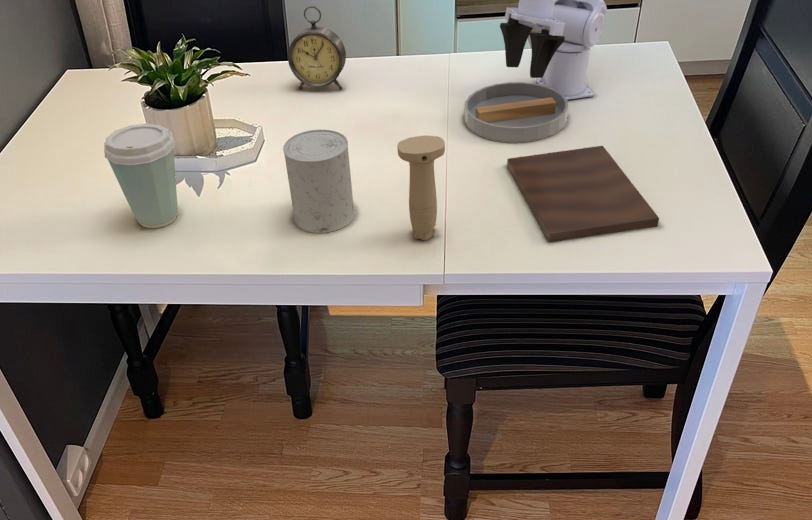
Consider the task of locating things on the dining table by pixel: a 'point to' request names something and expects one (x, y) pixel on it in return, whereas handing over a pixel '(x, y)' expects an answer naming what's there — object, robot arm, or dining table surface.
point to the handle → (422, 181)
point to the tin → (516, 128)
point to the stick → (516, 110)
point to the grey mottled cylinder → (319, 180)
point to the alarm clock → (316, 55)
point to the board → (580, 194)
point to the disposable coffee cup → (145, 171)
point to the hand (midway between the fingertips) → (523, 72)
